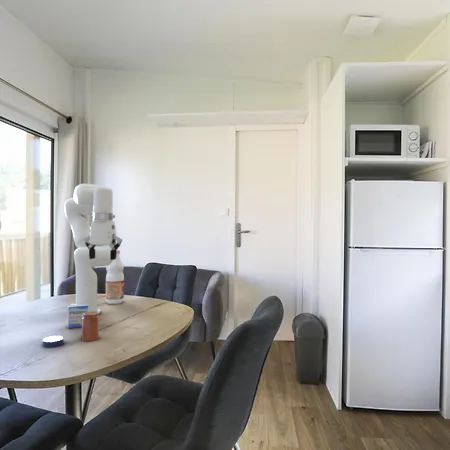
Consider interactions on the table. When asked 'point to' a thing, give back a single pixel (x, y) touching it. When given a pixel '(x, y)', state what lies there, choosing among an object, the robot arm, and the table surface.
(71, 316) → the medicine box
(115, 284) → the fruit juice
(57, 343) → the jam lid
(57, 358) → the table surface
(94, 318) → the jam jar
